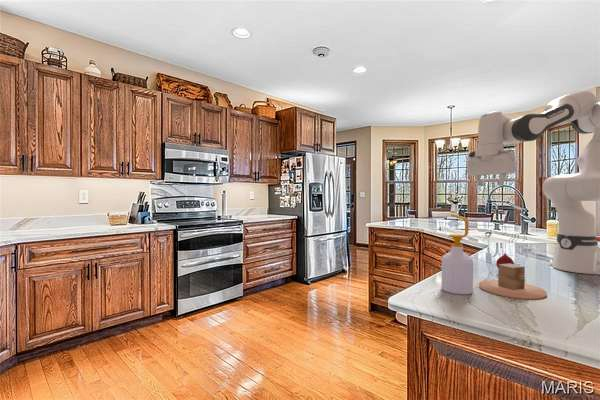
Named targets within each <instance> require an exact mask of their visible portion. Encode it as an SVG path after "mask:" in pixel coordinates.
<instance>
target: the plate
mask: <svg viewBox="0 0 600 400" xmlns="http://www.w3.org/2000/svg"><path fill="white" fill-rule="evenodd" d="M478 286H479V287H478V288H479V289H481V290H482V291H484V292H486V293H490V294H492V295H496V296H500V297H504V298H510V299H517V300H518V299H519V300H541V299H546V297H547V294H548V293H547V291H546V290H545V289H544V288H541V287H539V286H536V285H533V284H529V283H525V285H524V289H518V290H510V289H507V288H504V287H501V286H498V279H486V280H482V281H480V282H479V283H478Z"/></svg>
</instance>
